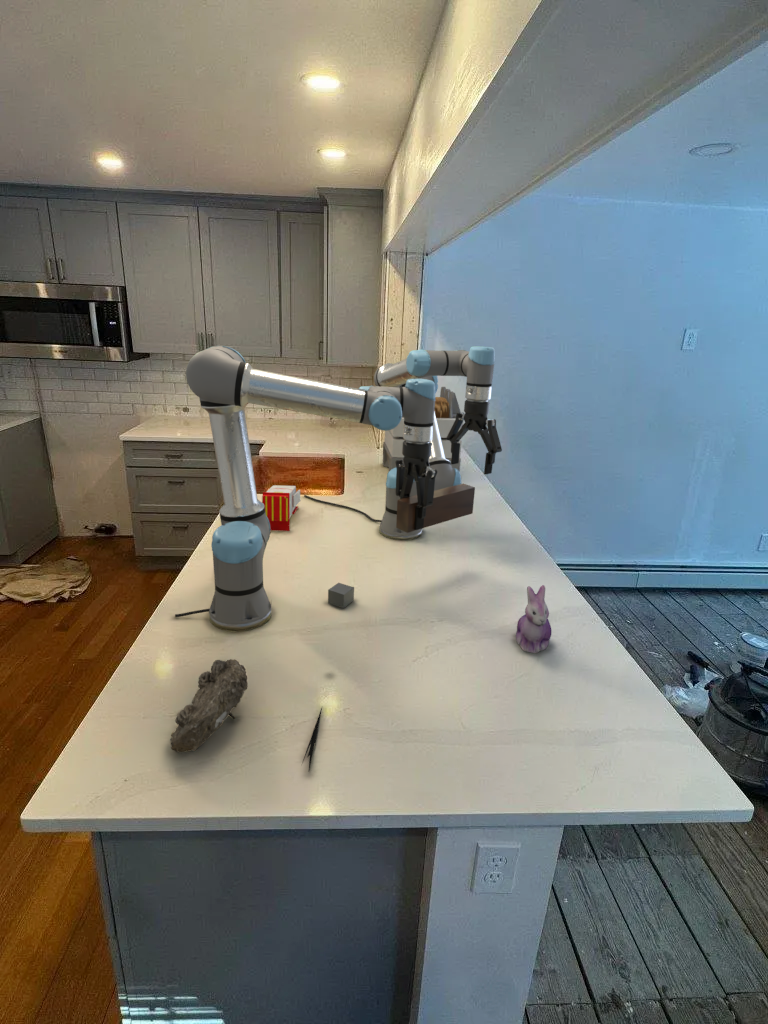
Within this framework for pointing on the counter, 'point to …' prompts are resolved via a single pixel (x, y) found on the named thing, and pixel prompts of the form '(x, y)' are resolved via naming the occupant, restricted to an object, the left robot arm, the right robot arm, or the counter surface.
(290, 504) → the toy
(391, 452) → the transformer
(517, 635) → the figurine
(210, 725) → the fossil
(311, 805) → the counter surface
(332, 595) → the slate block
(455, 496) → the walnut beam
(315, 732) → the feather
